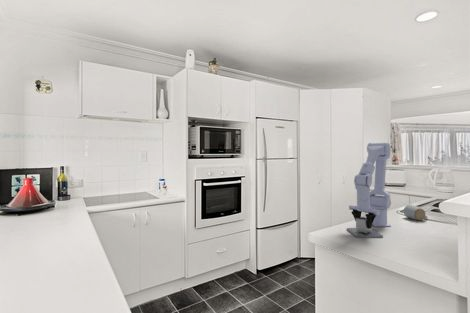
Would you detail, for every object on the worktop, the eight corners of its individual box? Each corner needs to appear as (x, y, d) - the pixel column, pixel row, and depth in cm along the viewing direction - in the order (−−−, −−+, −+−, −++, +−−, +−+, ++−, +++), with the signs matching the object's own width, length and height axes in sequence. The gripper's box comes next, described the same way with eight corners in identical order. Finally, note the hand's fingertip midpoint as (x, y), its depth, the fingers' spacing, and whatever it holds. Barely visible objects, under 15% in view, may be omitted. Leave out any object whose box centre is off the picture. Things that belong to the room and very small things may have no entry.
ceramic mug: (415, 221, 141) (415, 207, 141) (403, 217, 149) (403, 204, 149) (431, 220, 143) (431, 206, 142) (419, 216, 151) (419, 203, 150)
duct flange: (346, 229, 131) (346, 219, 131) (371, 229, 130) (370, 219, 130) (356, 237, 119) (356, 226, 119) (383, 237, 118) (382, 226, 118)
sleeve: (356, 230, 125) (355, 218, 125) (362, 228, 128) (362, 216, 128) (365, 233, 121) (365, 220, 121) (372, 231, 124) (371, 218, 123)
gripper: (344, 197, 128) (345, 224, 129) (373, 202, 116) (373, 232, 116) (353, 196, 132) (354, 222, 132) (381, 200, 119) (382, 229, 120)
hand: (363, 226), depth 124 cm, fingers closed on sleeve, 5 cm apart
